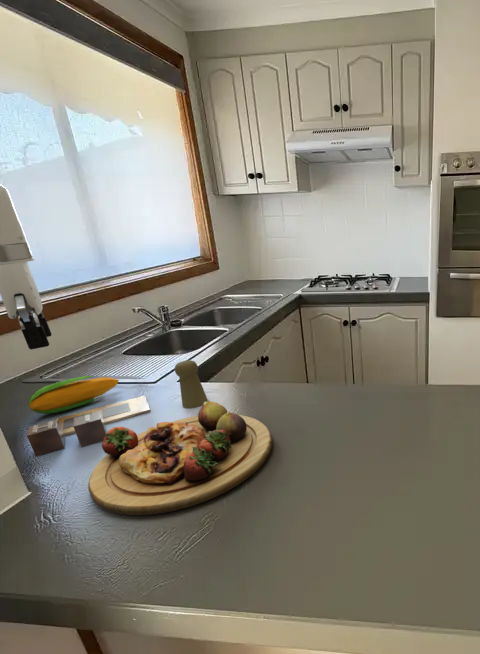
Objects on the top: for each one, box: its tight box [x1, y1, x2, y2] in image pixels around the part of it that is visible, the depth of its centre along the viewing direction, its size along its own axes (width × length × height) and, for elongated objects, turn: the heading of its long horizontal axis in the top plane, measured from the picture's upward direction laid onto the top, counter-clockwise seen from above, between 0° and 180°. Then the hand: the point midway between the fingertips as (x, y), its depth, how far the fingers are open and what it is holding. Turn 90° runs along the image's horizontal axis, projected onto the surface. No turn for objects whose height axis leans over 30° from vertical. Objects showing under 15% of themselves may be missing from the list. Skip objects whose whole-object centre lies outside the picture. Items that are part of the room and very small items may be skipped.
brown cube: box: [73, 411, 108, 448], centre depth 92 cm, size 5×5×5 cm
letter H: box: [26, 418, 66, 457], centre depth 89 cm, size 5×5×5 cm
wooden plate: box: [87, 400, 273, 516], centre depth 79 cm, size 32×32×8 cm
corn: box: [27, 374, 119, 415], centre depth 110 cm, size 7×8×20 cm
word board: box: [53, 394, 151, 437], centre depth 103 cm, size 20×11×1 cm, turn 123°
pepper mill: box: [174, 359, 209, 409], centre depth 104 cm, size 6×6×11 cm
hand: (41, 342), depth 85 cm, fingers open, 9 cm apart
